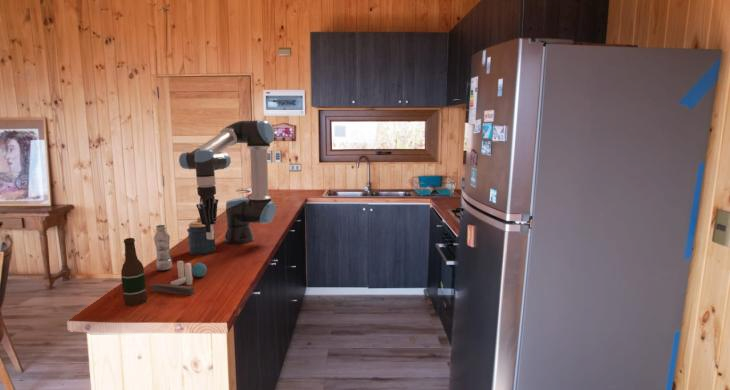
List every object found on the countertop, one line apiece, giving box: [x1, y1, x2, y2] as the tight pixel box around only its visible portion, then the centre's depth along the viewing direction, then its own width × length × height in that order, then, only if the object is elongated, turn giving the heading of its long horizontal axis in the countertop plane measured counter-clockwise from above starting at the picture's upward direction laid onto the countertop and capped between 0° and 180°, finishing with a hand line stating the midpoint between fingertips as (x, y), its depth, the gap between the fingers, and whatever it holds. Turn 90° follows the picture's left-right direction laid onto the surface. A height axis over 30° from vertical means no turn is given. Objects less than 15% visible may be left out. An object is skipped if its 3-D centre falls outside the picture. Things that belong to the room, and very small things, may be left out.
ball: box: [191, 262, 208, 278], centre depth 187 cm, size 6×6×6 cm
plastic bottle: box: [153, 224, 173, 271], centre depth 196 cm, size 6×7×20 cm
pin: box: [183, 262, 193, 286], centre depth 179 cm, size 2×2×8 cm
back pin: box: [176, 260, 185, 279], centre depth 182 cm, size 2×2×8 cm
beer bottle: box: [120, 237, 147, 307], centre depth 160 cm, size 8×8×24 cm
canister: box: [186, 216, 217, 256], centre depth 223 cm, size 13×13×18 cm
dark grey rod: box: [150, 282, 195, 296], centre depth 171 cm, size 2×18×2 cm, turn 75°
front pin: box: [170, 276, 194, 286], centre depth 180 cm, size 2×2×8 cm
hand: (210, 238), depth 194 cm, fingers closed
